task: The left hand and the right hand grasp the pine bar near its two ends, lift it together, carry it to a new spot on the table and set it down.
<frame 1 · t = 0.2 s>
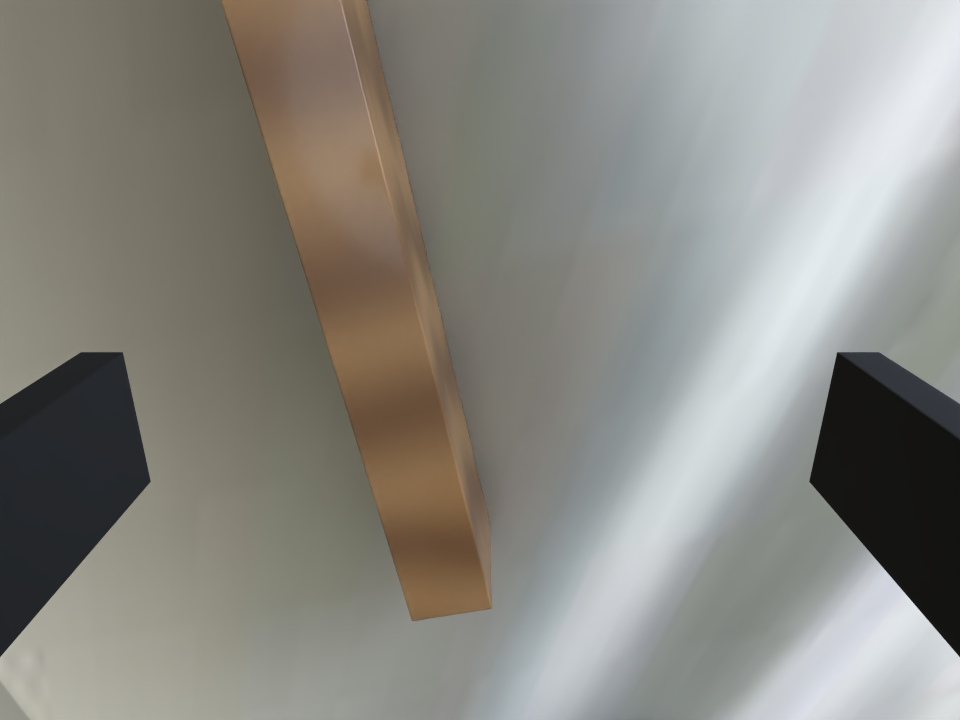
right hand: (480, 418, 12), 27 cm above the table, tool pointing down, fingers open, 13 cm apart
bar: (337, 72, 35), on the table
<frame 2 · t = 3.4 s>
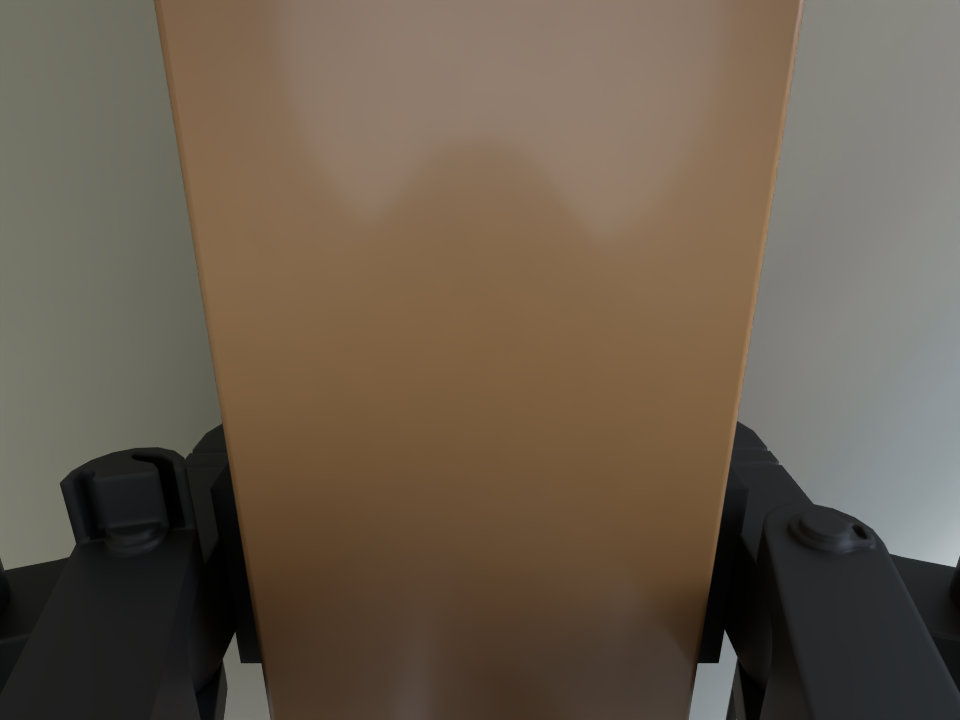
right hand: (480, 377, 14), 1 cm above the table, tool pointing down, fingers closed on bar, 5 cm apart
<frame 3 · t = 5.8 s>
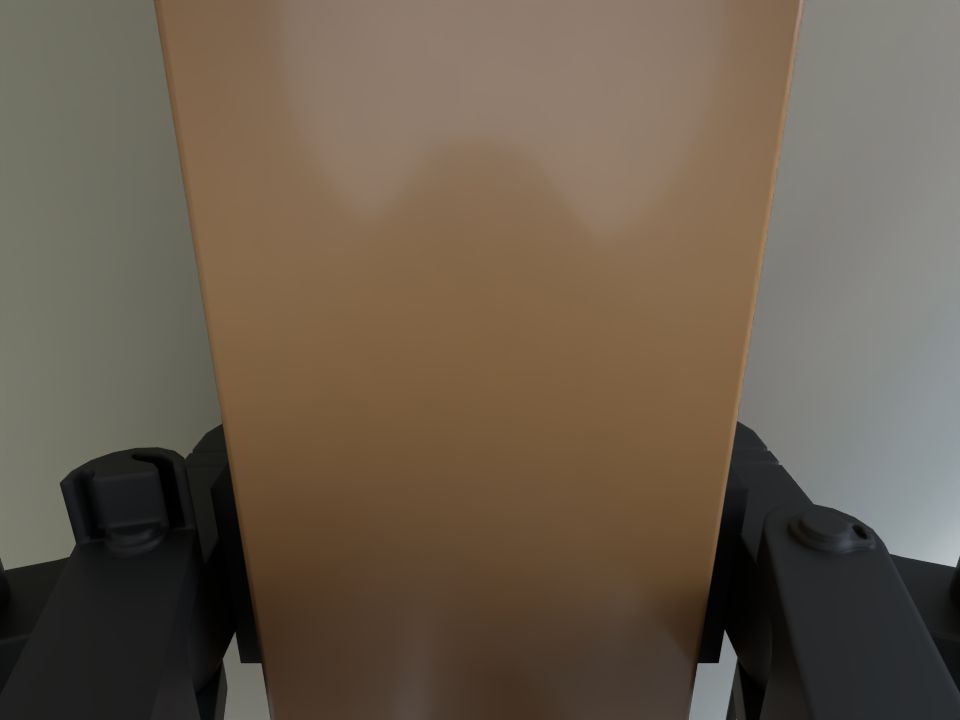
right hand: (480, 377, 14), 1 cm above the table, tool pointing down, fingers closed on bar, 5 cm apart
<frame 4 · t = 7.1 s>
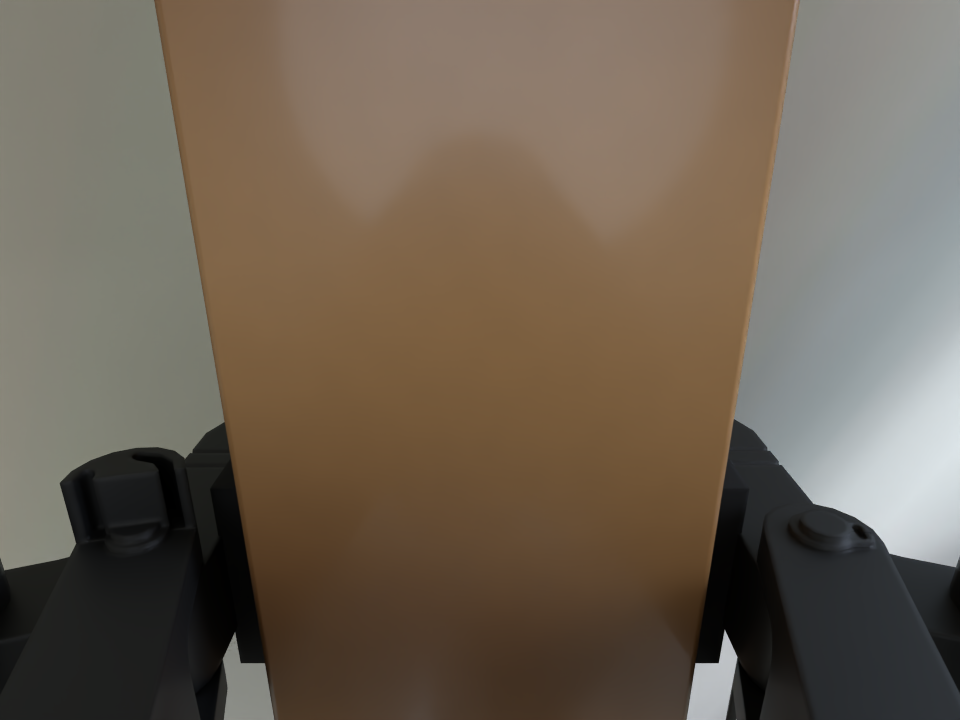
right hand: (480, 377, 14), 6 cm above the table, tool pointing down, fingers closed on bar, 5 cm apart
when the right hand's fingers open (2 cm above the table, at t = 11.0 s): bar drops 1 cm, on the table.
when the left hand's fingers open (5 cm above the table, at t = 11.1 s): bar stays where it is, on the table.
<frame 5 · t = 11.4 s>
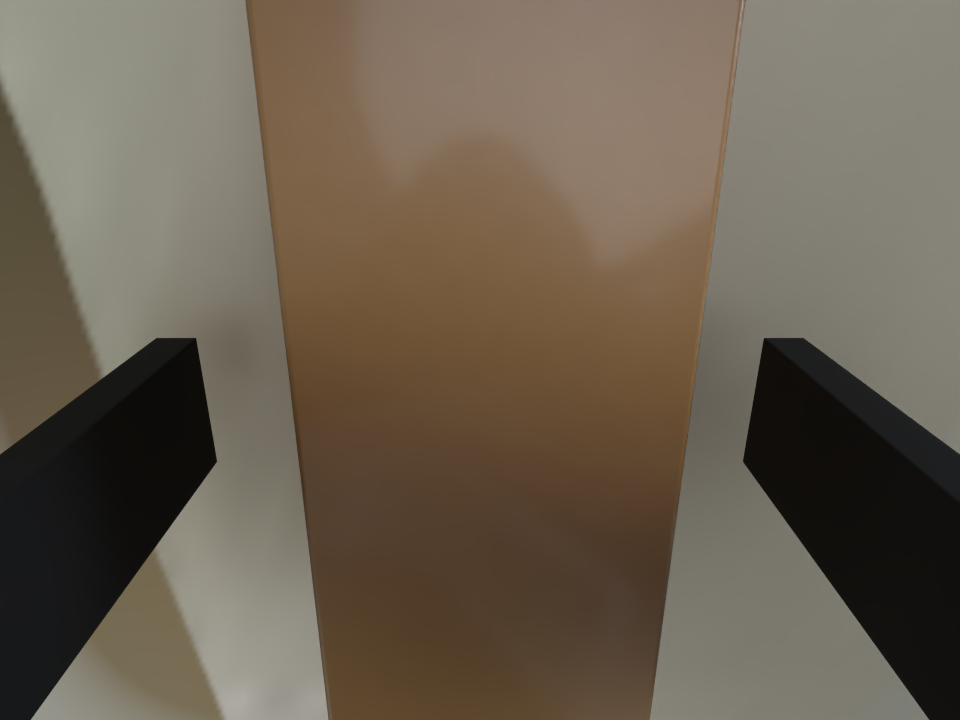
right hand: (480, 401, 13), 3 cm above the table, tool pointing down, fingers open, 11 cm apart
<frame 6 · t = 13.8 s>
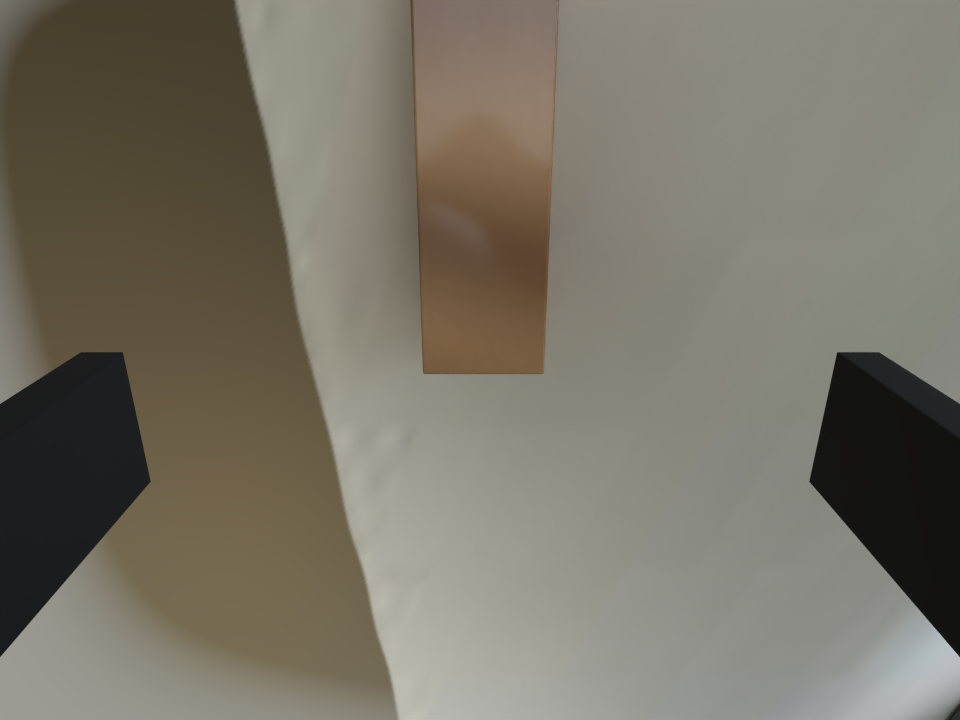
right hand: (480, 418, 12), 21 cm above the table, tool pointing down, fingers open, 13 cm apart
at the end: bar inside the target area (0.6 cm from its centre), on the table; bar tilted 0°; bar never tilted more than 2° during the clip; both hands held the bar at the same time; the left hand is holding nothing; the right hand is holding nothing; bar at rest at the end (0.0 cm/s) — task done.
